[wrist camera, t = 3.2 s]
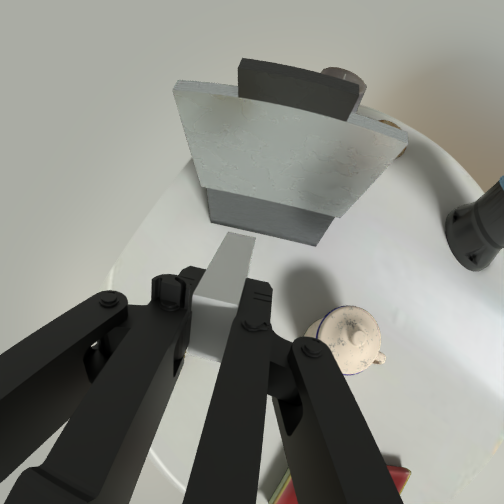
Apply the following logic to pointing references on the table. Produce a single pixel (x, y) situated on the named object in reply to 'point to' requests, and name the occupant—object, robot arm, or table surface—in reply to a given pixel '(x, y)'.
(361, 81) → the pillar candle
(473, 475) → the table surface
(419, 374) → the table surface
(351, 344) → the teacup with lid
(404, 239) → the table surface
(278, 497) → the hardcover book
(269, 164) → the lid
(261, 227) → the grey storage box
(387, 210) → the table surface
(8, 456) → the robot arm
